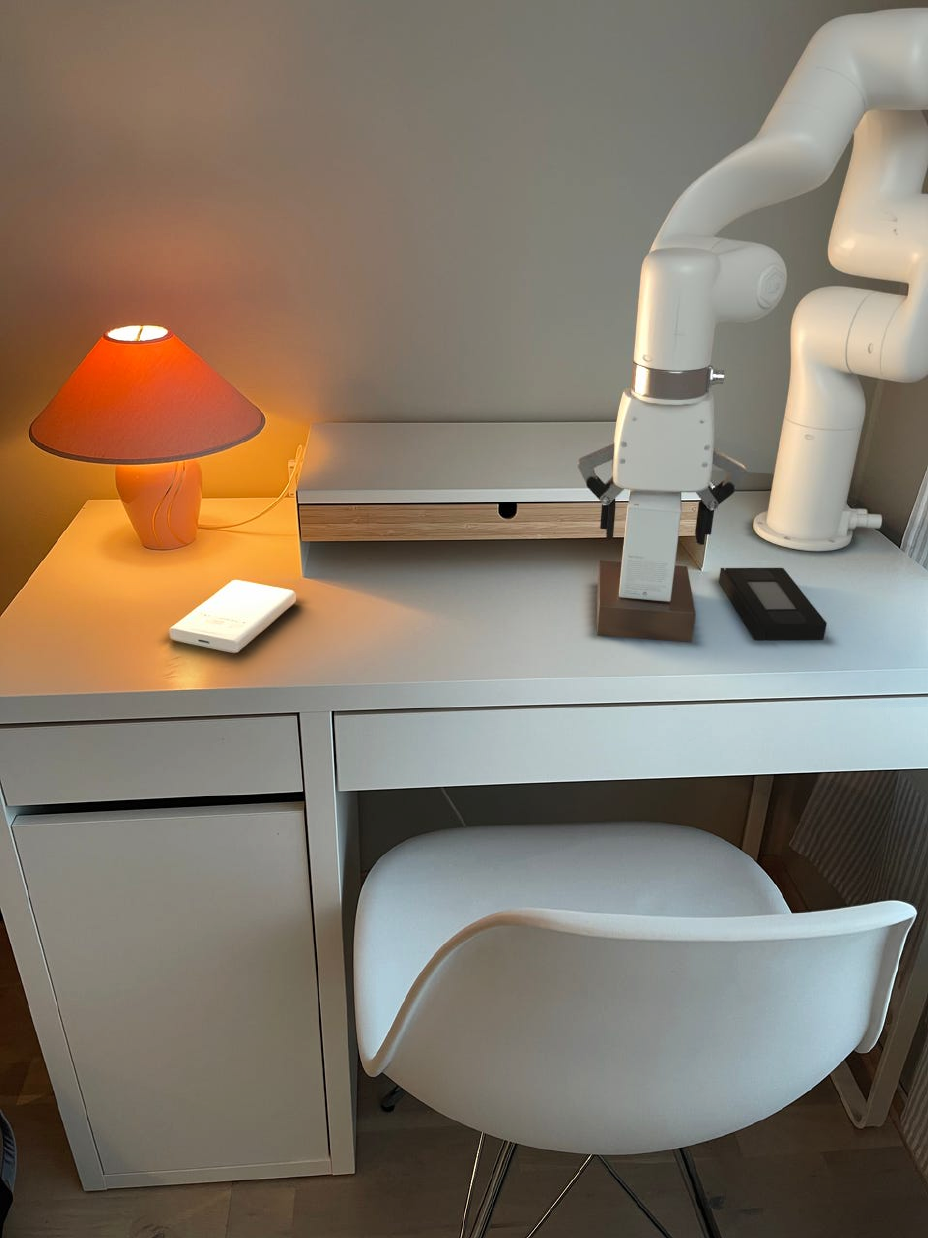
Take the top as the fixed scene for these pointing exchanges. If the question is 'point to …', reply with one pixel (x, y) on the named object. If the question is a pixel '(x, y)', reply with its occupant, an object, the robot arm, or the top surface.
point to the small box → (650, 545)
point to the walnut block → (644, 608)
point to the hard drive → (233, 616)
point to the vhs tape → (771, 604)
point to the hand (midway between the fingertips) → (654, 537)
